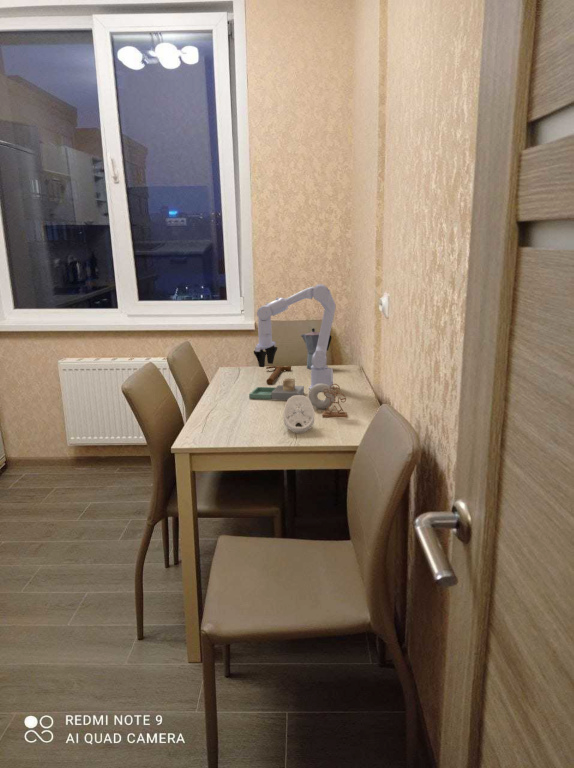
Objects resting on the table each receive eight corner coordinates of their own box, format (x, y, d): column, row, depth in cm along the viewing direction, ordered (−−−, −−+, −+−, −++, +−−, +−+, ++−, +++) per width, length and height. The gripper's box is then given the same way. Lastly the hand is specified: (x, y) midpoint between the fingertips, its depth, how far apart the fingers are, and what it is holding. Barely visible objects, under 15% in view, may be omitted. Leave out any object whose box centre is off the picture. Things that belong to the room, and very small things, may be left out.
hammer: (279, 385, 250) (291, 371, 279) (279, 378, 250) (291, 364, 278) (254, 385, 252) (268, 370, 281) (254, 378, 252) (268, 364, 280)
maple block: (294, 388, 231) (294, 378, 230) (292, 390, 227) (292, 381, 227) (285, 387, 232) (285, 378, 231) (283, 390, 228) (283, 380, 227)
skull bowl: (313, 415, 199) (314, 392, 190) (314, 447, 189) (315, 424, 181) (283, 415, 199) (283, 392, 190) (283, 447, 190) (282, 424, 181)
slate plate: (303, 393, 235) (303, 386, 234) (298, 400, 224) (298, 393, 223) (278, 392, 237) (278, 385, 237) (271, 399, 226) (271, 392, 225)
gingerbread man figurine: (346, 414, 205) (347, 382, 202) (346, 417, 201) (347, 385, 198) (322, 414, 205) (322, 382, 203) (322, 417, 202) (322, 385, 199)
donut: (307, 409, 211) (307, 384, 209) (309, 407, 215) (309, 381, 212) (334, 410, 209) (334, 384, 207) (335, 408, 213) (335, 382, 210)
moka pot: (302, 365, 289) (301, 327, 284) (332, 365, 287) (332, 327, 282) (300, 369, 280) (299, 329, 275) (331, 370, 277) (331, 329, 273)
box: (277, 392, 238) (277, 387, 237) (270, 399, 226) (270, 394, 226) (257, 391, 239) (257, 386, 239) (249, 398, 228) (249, 394, 228)
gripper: (265, 331, 248) (266, 361, 251) (248, 336, 235) (249, 367, 239) (279, 332, 245) (280, 362, 248) (262, 337, 232) (264, 369, 235)
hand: (266, 365), depth 243 cm, fingers open, 7 cm apart
